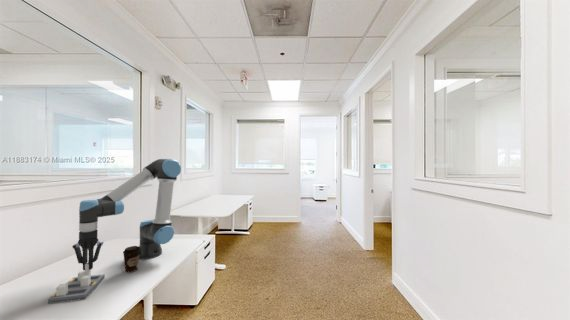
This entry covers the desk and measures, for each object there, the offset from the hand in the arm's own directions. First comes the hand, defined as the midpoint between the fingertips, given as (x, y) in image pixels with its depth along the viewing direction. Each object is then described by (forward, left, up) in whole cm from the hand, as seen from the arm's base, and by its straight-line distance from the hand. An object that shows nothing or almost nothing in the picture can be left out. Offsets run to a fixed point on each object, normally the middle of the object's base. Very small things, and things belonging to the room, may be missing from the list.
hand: (87, 275), depth 128 cm
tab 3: (-2, +7, -2) cm, 7 cm away
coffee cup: (-17, -10, -4) cm, 20 cm away
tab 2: (+2, 0, -2) cm, 3 cm away
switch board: (+1, +7, -4) cm, 8 cm away
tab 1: (+4, +14, -2) cm, 15 cm away
